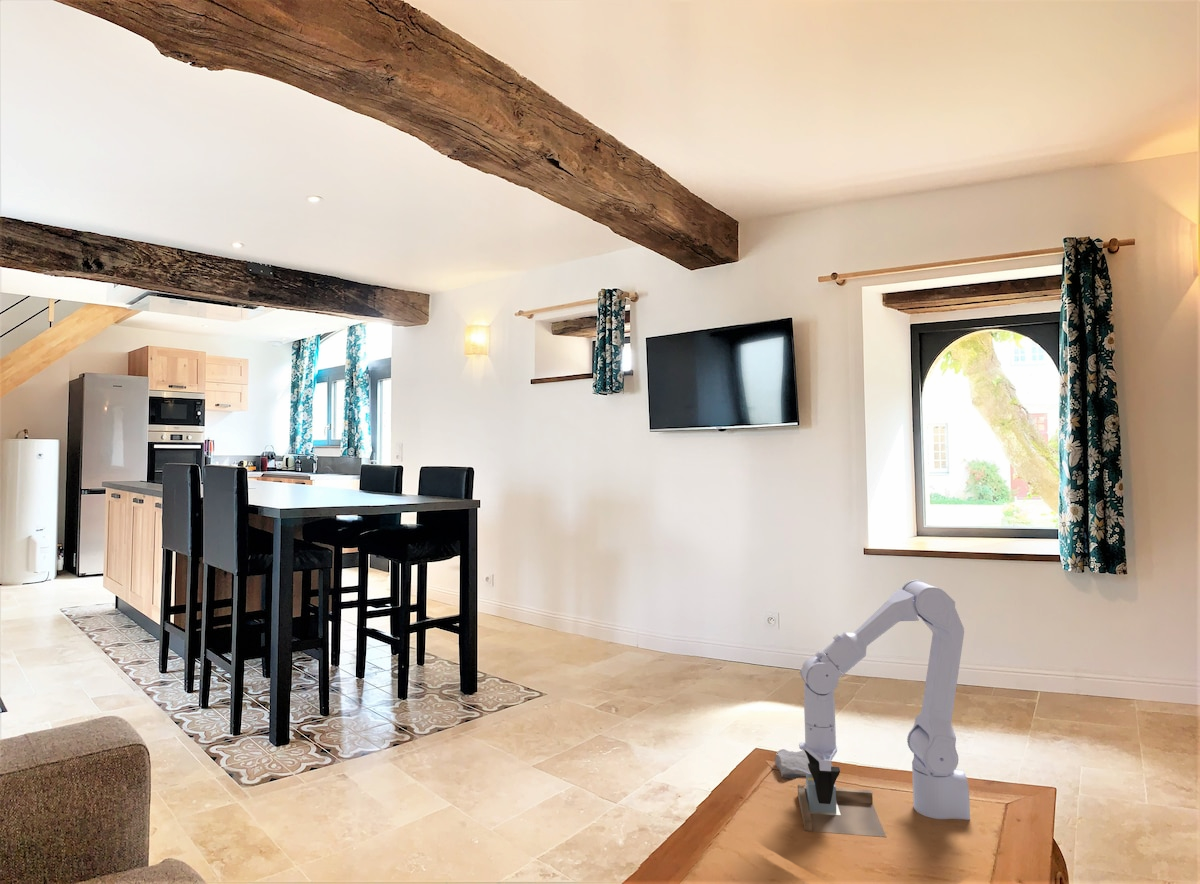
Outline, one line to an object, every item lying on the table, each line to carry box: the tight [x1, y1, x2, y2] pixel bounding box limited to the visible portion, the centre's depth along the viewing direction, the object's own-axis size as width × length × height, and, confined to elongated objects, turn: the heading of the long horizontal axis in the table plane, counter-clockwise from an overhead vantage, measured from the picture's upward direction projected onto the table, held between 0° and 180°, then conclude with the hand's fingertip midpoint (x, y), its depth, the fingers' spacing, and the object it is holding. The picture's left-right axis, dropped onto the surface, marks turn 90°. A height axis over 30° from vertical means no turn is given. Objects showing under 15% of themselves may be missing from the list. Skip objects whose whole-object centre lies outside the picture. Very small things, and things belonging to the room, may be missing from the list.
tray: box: [797, 785, 887, 838], centre depth 133 cm, size 14×14×3 cm
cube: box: [805, 774, 837, 813], centre depth 136 cm, size 5×5×5 cm
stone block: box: [774, 748, 834, 780], centre depth 155 cm, size 12×5×10 cm
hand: (821, 793), depth 136 cm, fingers open, 7 cm apart
